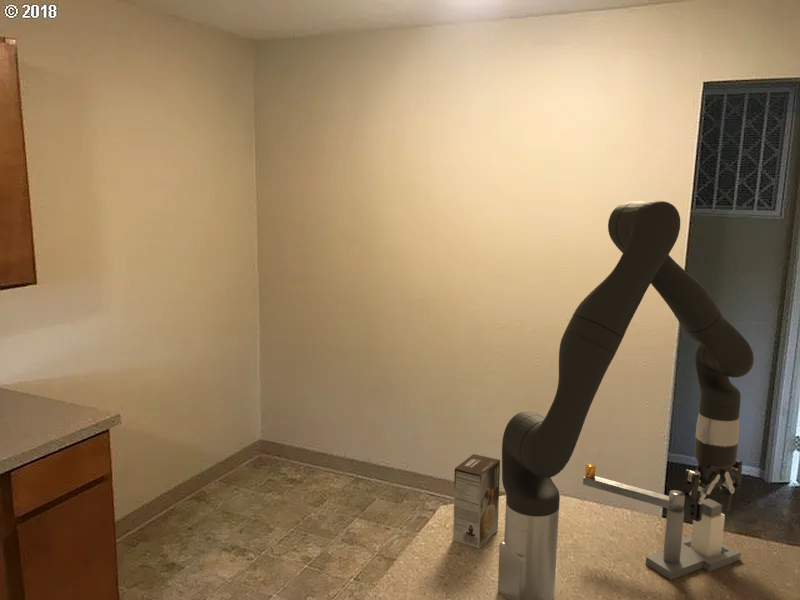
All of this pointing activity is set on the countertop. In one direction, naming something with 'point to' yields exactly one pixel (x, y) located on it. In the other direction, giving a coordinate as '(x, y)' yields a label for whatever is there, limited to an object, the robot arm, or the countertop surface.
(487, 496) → the coffee box
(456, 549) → the countertop surface
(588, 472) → the long flat grey beam
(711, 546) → the plug
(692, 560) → the dock
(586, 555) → the countertop surface
